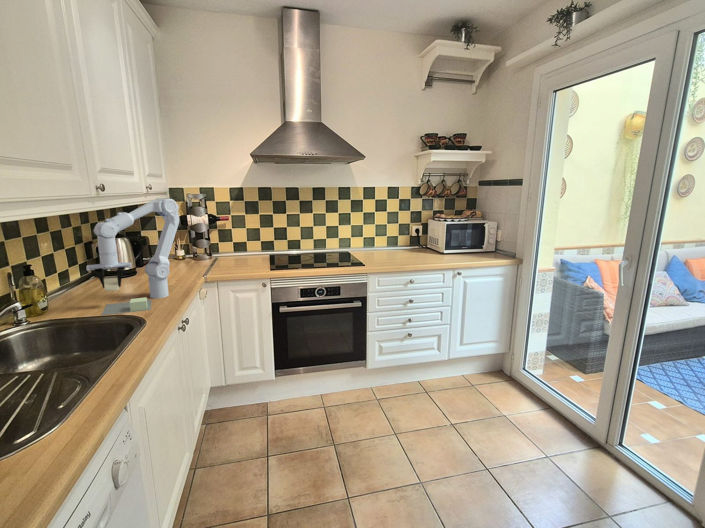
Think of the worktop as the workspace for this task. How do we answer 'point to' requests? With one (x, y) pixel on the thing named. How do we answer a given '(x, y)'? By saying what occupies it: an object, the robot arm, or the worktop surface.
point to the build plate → (121, 308)
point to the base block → (138, 304)
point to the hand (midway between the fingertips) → (112, 286)
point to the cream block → (111, 283)
